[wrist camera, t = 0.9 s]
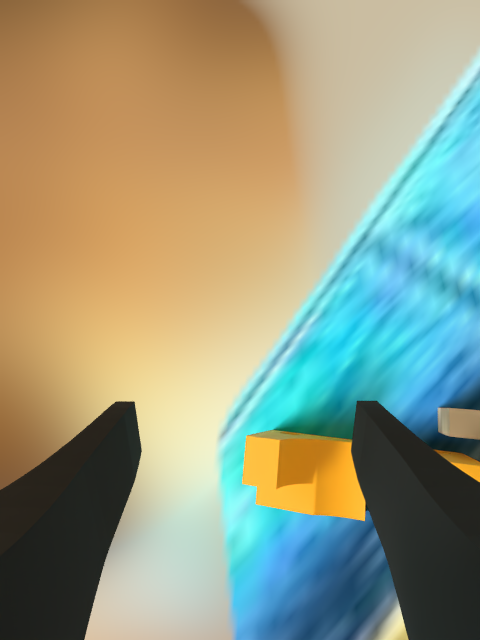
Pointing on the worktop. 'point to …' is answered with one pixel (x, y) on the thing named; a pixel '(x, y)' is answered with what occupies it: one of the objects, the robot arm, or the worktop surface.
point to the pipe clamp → (314, 473)
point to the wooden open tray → (459, 422)
